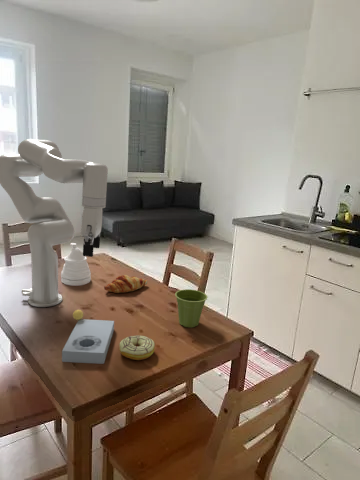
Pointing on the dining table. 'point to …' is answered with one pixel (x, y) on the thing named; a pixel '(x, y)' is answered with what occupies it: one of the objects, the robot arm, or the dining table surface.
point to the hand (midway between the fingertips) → (91, 251)
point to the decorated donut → (137, 347)
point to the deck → (88, 341)
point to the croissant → (125, 284)
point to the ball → (78, 314)
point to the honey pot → (75, 268)
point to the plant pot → (190, 306)
